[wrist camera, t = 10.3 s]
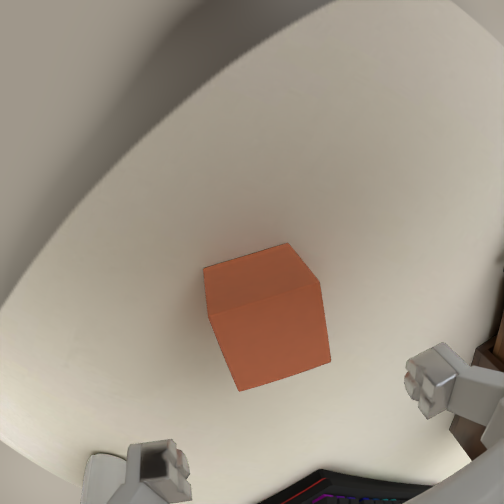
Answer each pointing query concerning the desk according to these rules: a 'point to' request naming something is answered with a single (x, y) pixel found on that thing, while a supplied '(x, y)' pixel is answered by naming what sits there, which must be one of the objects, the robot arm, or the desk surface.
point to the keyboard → (345, 490)
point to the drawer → (500, 342)
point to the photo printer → (102, 478)
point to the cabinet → (464, 428)
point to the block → (267, 316)
